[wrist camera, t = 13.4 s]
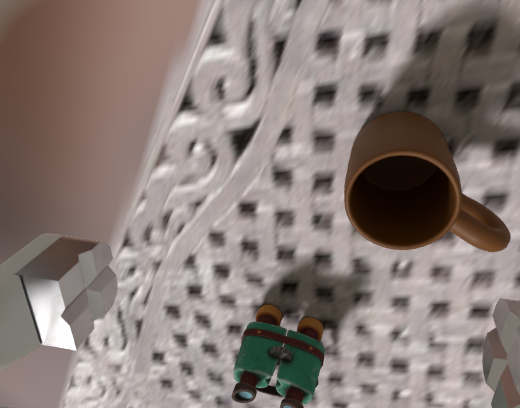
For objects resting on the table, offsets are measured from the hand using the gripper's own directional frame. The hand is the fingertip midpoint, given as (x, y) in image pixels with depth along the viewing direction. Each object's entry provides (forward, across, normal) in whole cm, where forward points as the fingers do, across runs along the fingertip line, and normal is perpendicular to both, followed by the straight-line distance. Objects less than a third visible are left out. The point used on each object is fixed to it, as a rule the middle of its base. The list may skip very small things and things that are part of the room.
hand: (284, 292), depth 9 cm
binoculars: (+29, +5, +30) cm, 42 cm away
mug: (+29, -6, +8) cm, 31 cm away
